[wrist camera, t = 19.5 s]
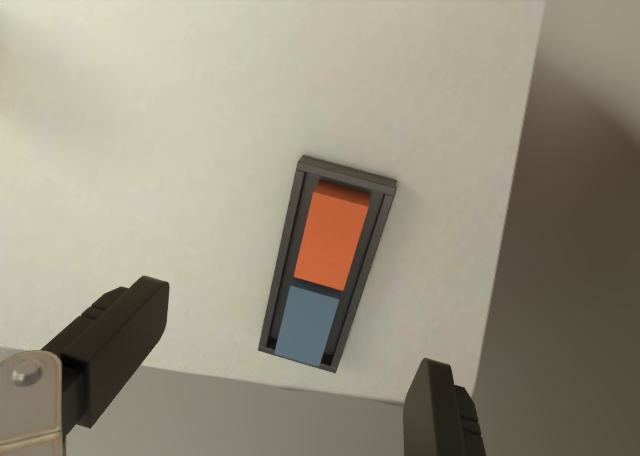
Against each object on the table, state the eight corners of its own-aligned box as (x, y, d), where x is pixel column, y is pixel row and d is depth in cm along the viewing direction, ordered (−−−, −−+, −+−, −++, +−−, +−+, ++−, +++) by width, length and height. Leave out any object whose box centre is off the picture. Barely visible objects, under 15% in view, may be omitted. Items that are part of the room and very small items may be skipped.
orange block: (319, 179, 39) (313, 191, 36) (370, 193, 39) (368, 207, 36) (300, 259, 43) (293, 277, 40) (346, 272, 43) (343, 291, 40)
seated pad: (297, 267, 44) (290, 285, 41) (343, 281, 44) (339, 299, 40) (281, 333, 48) (274, 354, 44) (324, 345, 47) (319, 367, 44)
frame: (302, 154, 39) (297, 161, 37) (396, 180, 39) (396, 188, 37) (263, 337, 49) (257, 350, 47) (338, 358, 49) (335, 373, 46)
